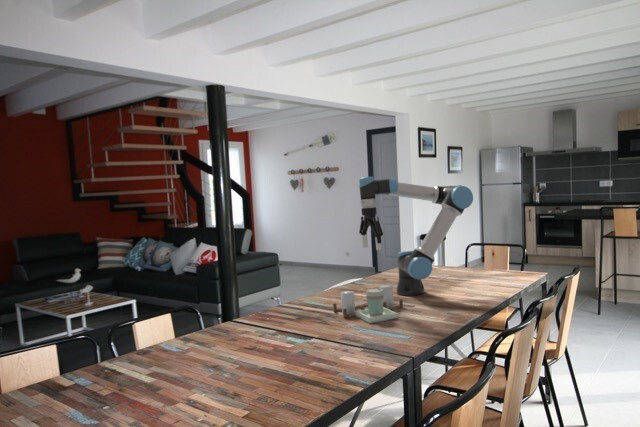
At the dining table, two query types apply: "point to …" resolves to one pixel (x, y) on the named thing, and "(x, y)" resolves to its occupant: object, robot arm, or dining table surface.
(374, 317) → the tray
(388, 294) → the white rounded block
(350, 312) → the white rounded capsule
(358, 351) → the dining table surface
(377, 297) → the coffee cup
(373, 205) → the robot arm
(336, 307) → the rack
